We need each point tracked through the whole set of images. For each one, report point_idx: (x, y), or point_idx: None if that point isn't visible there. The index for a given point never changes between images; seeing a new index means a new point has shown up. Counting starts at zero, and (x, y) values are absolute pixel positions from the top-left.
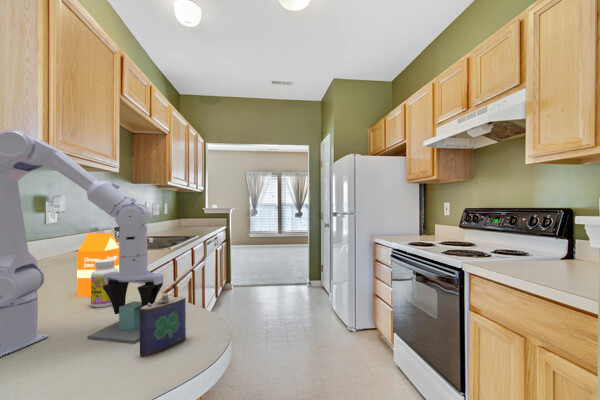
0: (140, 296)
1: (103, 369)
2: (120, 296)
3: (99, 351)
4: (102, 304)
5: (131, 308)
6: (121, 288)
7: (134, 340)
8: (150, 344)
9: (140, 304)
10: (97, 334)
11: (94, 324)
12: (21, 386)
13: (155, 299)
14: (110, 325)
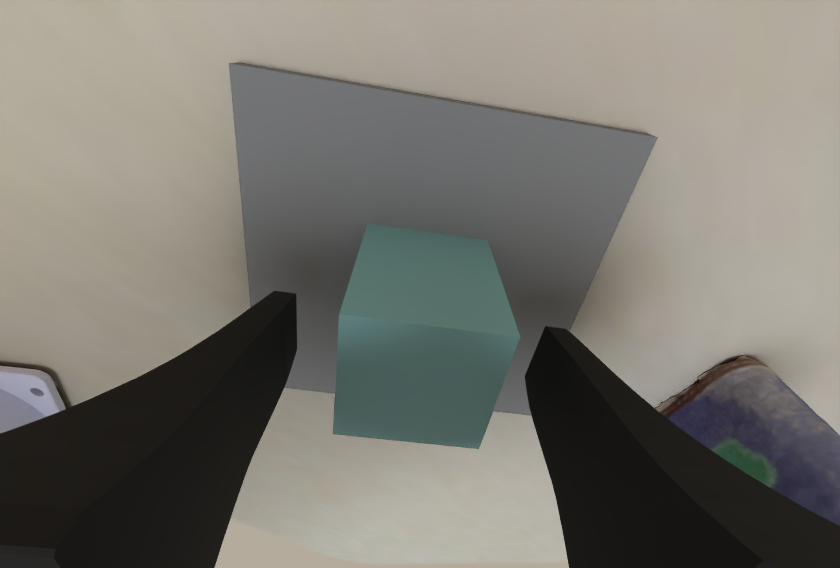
0: (569, 566)
1: (512, 510)
2: (236, 431)
3: (418, 446)
4: None
5: (454, 443)
6: (183, 513)
7: (527, 412)
8: None
9: (486, 390)
10: (293, 371)
11: (85, 216)
12: (355, 550)
13: (646, 403)
14: (255, 276)
